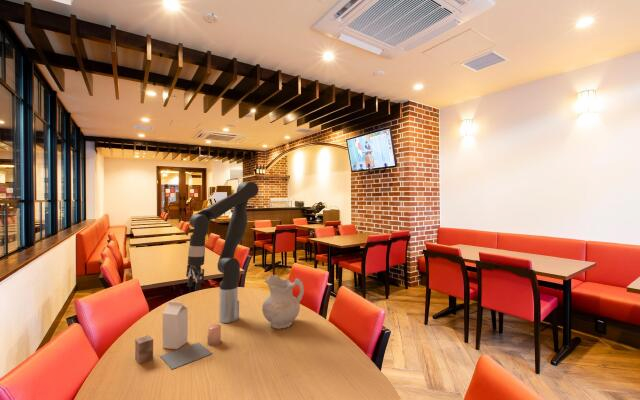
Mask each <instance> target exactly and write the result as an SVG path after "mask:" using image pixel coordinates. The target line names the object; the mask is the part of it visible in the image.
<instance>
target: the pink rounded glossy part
mask: <svg viewBox="0 0 640 400" xmlns="http://www.w3.org/2000/svg"><path fill="white" fill-rule="evenodd" d="M221 332H222V325H221V324H216V323H215V324H210V325H209V326H207V343H206V344H207V345H208V346H211V347H213V346H214V347H215V346H218V345H220V344H221V343H222V333H221Z"/></svg>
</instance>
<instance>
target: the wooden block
mask: <svg viewBox="0 0 640 400" xmlns="http://www.w3.org/2000/svg"><path fill="white" fill-rule="evenodd" d="M134 342H135V344H134V346H135V349H134V351H135V352H134V354H135V355H134V358H135V361H136V363H138V365H140V364H143V363H146V362H149V361H152V360H153V359H154V339H153V338H152V336H151V335H149V334H148V335H146V336H142V337H138V338H135V341H134Z"/></svg>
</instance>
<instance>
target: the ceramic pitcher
mask: <svg viewBox="0 0 640 400" xmlns="http://www.w3.org/2000/svg"><path fill="white" fill-rule="evenodd" d="M264 282H265V283H266V284H267V285H268V288H269V292H270V295H269V296H268V297H267V298H265V299H264V301H263V303H262V310H261V311H262V314H263V316H264V318H265V320H267V321H268V322H269V323H270V324H269V326H270V327H271V328H273V329H275V328H276V330H281V328H283V329H287V328H286V327H288V328H290V327H289V326H290V325H291V324H292V323H293V321H295V320H296V319H297V317H298V316H299V314H300V313H299V312H300V308H301V303H300V302H301V301H302V298H303V296H304V293H305V292H304V291H305V290H304V287H305V286H304V284H303V281H302V279H301V278H300V277H296V278H294V281H293V282H291V280H289V279H288V278H280V276H279V275H275V274H271V275H269V276H268V277H267V278H266V279H265V280H264ZM297 286H298V287H299V292H298V295H297V297H296V296H294V295H293V289H294V287H297Z"/></svg>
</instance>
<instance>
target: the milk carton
mask: <svg viewBox="0 0 640 400" xmlns="http://www.w3.org/2000/svg"><path fill="white" fill-rule="evenodd" d="M188 310H189V308H188V307H186V306H185V305H184V303H183V302H181V301H173V300H172V301H171V300H170V301H168V302H167V305H166V307H165V309H164V310H163V312H162V348H163V349H171V350H178V349H180V348H182V346H183V345H185V344H186V343H188V335H189V334H188V330H189V329H188V327H189V326H188V325H189V323H188V321H189V318H188V317H189V316H188V315H189V314H188Z"/></svg>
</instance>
